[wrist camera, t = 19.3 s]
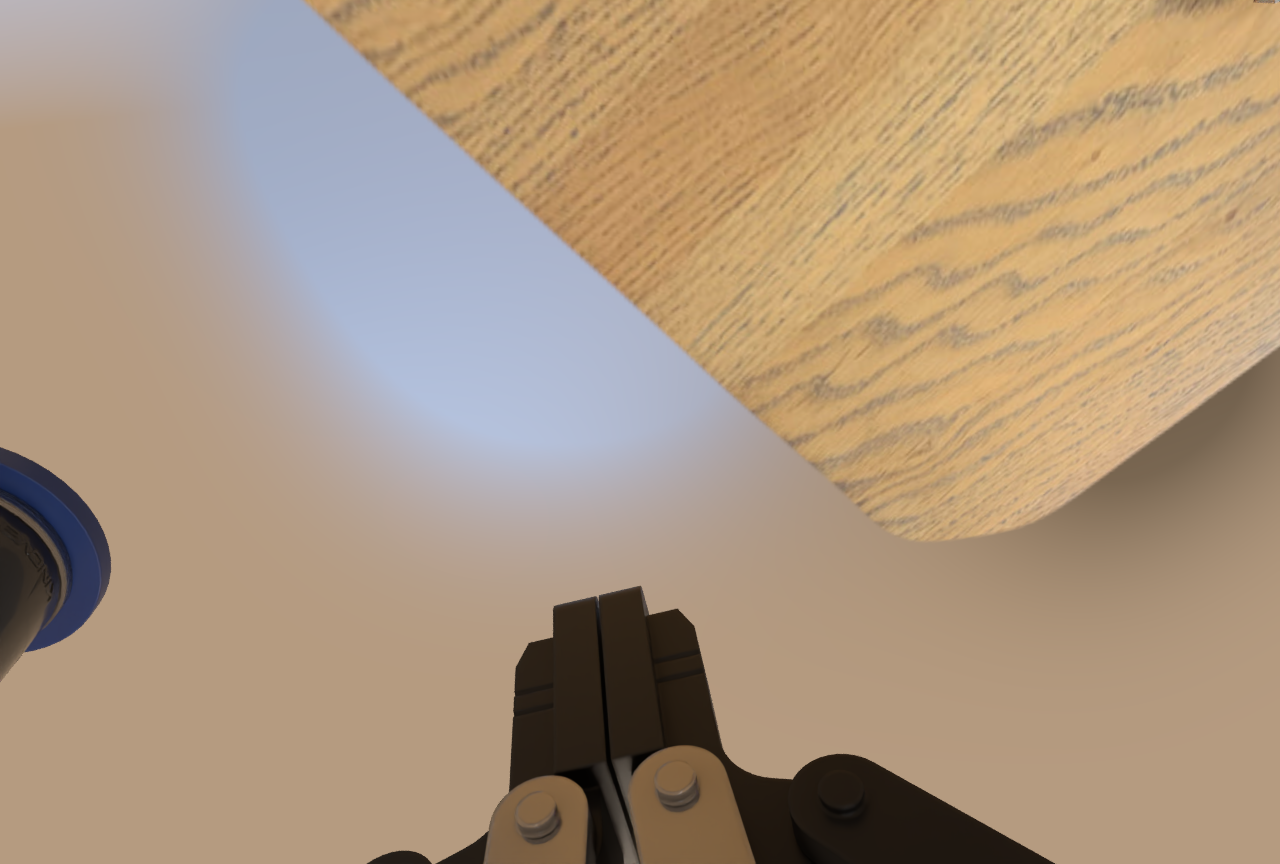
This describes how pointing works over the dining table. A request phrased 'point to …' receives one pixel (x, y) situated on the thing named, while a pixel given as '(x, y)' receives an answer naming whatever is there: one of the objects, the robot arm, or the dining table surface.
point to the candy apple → (1266, 1)
